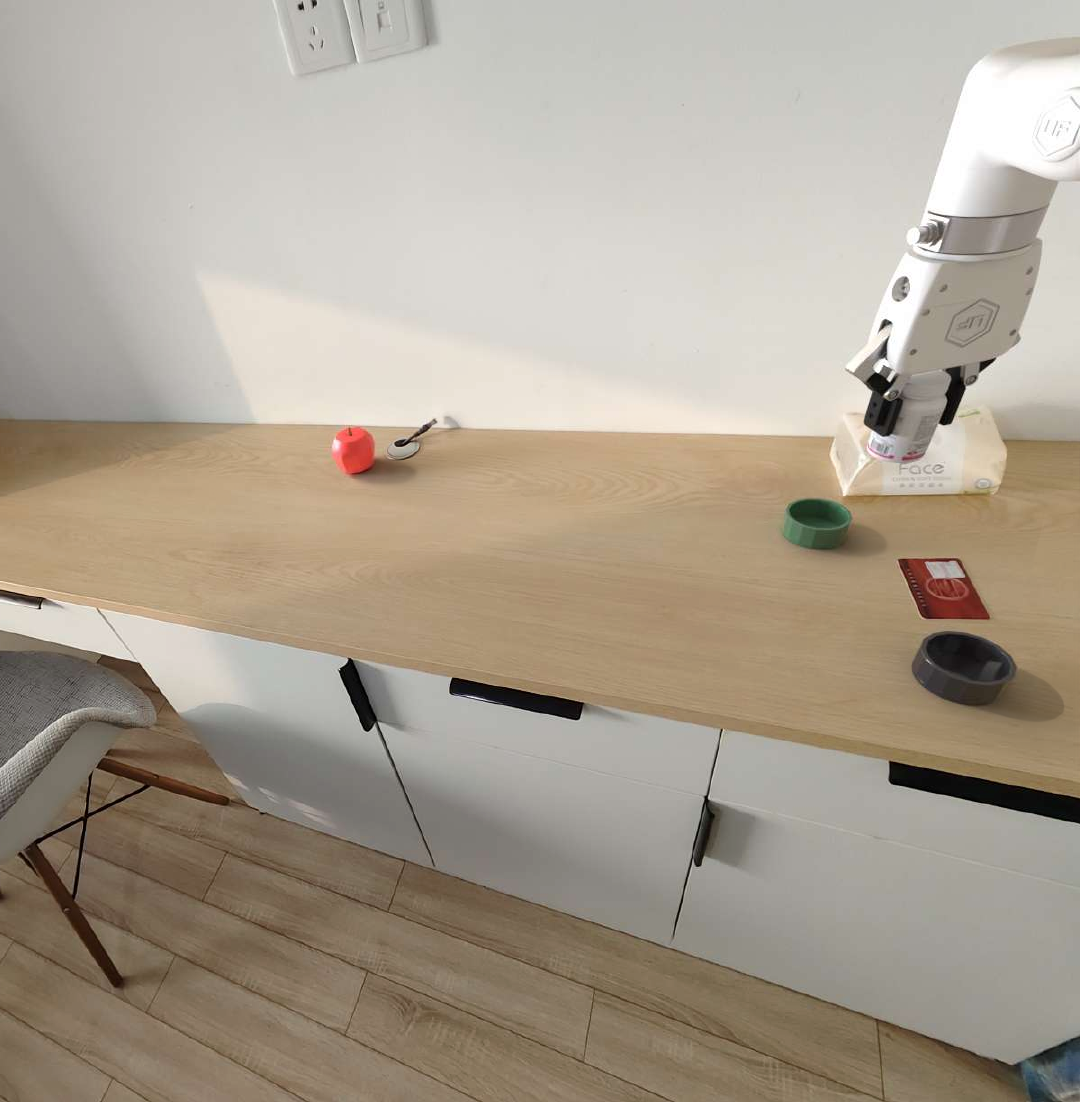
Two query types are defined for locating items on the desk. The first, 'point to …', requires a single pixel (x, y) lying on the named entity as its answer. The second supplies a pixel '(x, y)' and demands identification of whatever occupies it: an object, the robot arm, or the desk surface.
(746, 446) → the desk surface
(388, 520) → the desk surface
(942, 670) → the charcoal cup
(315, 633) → the desk surface
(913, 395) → the pill bottle
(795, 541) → the green round container
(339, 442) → the apple
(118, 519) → the desk surface
